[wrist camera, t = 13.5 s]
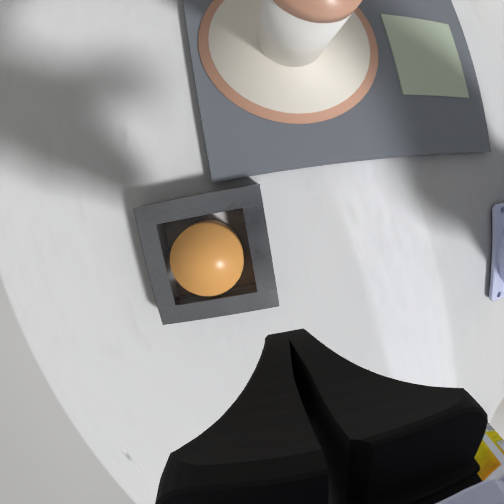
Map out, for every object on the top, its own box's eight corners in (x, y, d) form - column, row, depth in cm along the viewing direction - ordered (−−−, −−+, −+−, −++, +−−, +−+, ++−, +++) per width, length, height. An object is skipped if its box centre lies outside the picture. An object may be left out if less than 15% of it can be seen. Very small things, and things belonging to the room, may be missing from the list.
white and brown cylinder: (315, 10, 15) (349, -52, 8) (330, 64, 16) (377, 15, 9) (251, 14, 15) (259, -55, 8) (263, 70, 16) (279, 14, 9)
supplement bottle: (443, 459, 26) (480, 517, 16) (453, 429, 25) (499, 491, 15) (479, 440, 26) (518, 491, 16) (490, 410, 25) (538, 462, 15)
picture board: (441, -10, 15) (446, -14, 14) (485, 152, 18) (492, 152, 18) (181, -15, 15) (179, -21, 14) (213, 182, 18) (212, 182, 17)
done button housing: (257, 183, 18) (259, 184, 17) (276, 296, 20) (279, 306, 18) (141, 206, 18) (133, 209, 17) (167, 314, 20) (162, 324, 18)
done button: (236, 213, 18) (236, 217, 17) (248, 279, 19) (249, 289, 18) (169, 226, 18) (162, 231, 17) (184, 290, 19) (179, 301, 18)
